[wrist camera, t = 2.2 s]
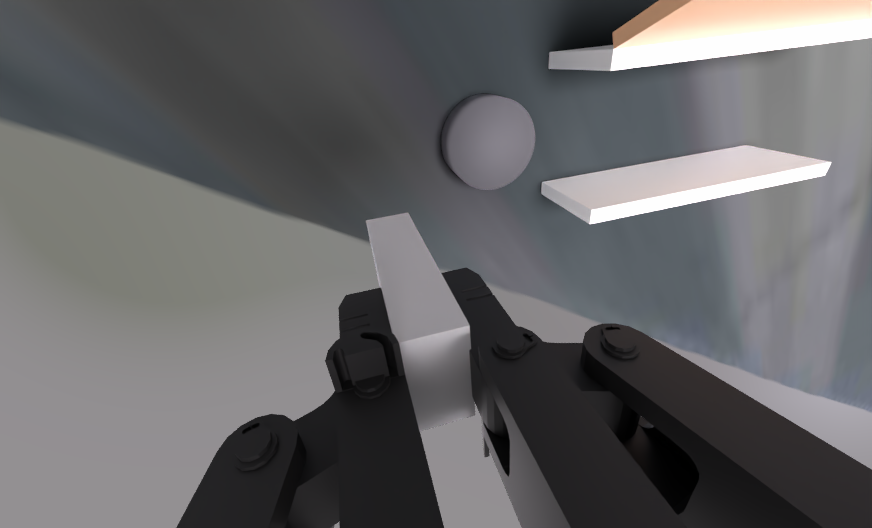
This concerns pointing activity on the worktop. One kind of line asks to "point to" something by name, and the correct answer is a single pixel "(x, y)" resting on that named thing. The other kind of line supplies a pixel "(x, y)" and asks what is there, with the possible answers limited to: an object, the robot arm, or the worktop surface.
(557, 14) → the worktop surface
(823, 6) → the duct cover
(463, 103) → the grey round puck
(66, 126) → the worktop surface
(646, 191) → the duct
